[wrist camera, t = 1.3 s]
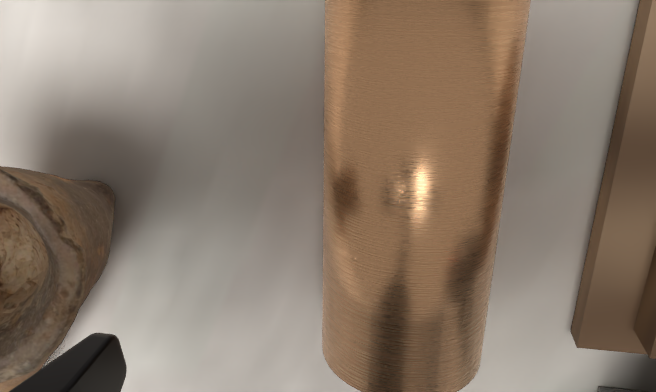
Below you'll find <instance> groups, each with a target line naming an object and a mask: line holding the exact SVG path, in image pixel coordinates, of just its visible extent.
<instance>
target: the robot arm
mask: <svg viewBox="0 0 656 392" xmlns="http://www.w3.org/2000/svg"><path fill="white" fill-rule="evenodd" d="M125 377H126V363H125V359H124V356H123V352H122V349H121V346H120V342H119V339H118V338H117V337H116V336H115V335H113V334H104V333H94V334H91V335H89V336H88V337H86V338H85V339H84V340H82V341H81V342H79V343H78V344H76V345H75V346H73V347H72V348H71V349H69V350H68V351H66V352H65V353H63V354H62V355H61V356H59V357H58V358H56V359H55V360H53V361H52V362H50V363H49V364H48V365H46V366H45V367H43V368H42V369H40V370H39V371H38V372H36V373H35V374H33V375H32V376H30V377H29V378H28V379H26V380H25V381H23V382H22V383H20V384H19V385H17V386H16V387H15V388H13V389H12V390H10V391H9V392H120V391H121V389H122V386H123V383H124V380H125Z"/></svg>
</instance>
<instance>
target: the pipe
mask: <svg viewBox="0 0 656 392" xmlns="http://www.w3.org/2000/svg"><path fill="white" fill-rule="evenodd" d="M114 205H115V197H114V194H113V191H112V190H111V188H110V187H109V186H107V185H106V184H104V183H102V182H99V181H93V180H69V179H63V178H60V177H58V176H55V175H49V174H45V173H41V172H36V171H31V170H26V169H20V168H12V167H1V166H0V392H9V391H10V390H12V389H13V388H15V387H16V386H17V385H19V384H20V383H22V382H23V381H25V380H26V379H28V378H29V377H30V376H32V375H33V374H35V373H36V372H38V371H39V370H40V369H41V368H42V366H43V365H44V363H45V362H46V360H47V359H48V357H49V356H50V355H51V354H52V353H53V352H54V351H55V350H56V349H57V347H58V346H59V345H60V344H61V343H62V341H63V339H64V338H65V336H66V334H67V332H68V330H69V329H70V327H71V325H72V324H73V322H74V320H75V317H76V315H77V313H78V310H79V308H80V306H81V305H82V304H83V302H84V300H85V299H86V297H87V296H88V294H89V292H90V290H91V289H92V287H93V286H94V285H95V283H96V282H97V280H98V279H99V278H100V276H101V274H102V272H103V270H104V268H105V266H106V264H107V259H108V256H109V252H110V243H111V235H112V227H113V218H114Z"/></svg>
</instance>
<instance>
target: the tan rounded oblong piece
mask: <svg viewBox="0 0 656 392" xmlns="http://www.w3.org/2000/svg"><path fill="white" fill-rule="evenodd" d="M530 1H531V0H325V89H324V209H323V329H322V348H323V354H324V357H325V360H326V361H327V363H328V365H329V367H330V368H331V369H332V370H333V372H334V373H335V374H336V375H337V376H338V377H339V378H340V379H342V380H343V381H345V382H346V383H347V384H349V385H350V386H352V387H354V388H356V389H358V390H360V391H362V392H457V391H459V390H460V389H462V388H463V387H465V386H466V385H467V384H468V383H469V382H470V381H471V380H472V379H473V378H474V377H475V375H476V373H477V371H478V369H479V366H480V360H481V352H482V345H483V338H484V331H485V324H486V317H487V309H488V302H489V295H490V288H491V281H492V274H493V266H494V259H495V252H496V245H497V238H498V231H499V223H500V216H501V209H502V202H503V195H504V188H505V180H506V173H507V166H508V159H509V152H510V145H511V137H512V130H513V123H514V116H515V109H516V102H517V94H518V87H519V80H520V73H521V66H522V59H523V51H524V44H525V37H526V30H527V23H528V16H529V8H530Z"/></svg>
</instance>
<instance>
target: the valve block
mask: <svg viewBox="0 0 656 392" xmlns="http://www.w3.org/2000/svg"><path fill="white" fill-rule="evenodd" d="M598 392H645V391H636V390H626V389H617V388H607V387H599V388H598Z"/></svg>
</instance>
